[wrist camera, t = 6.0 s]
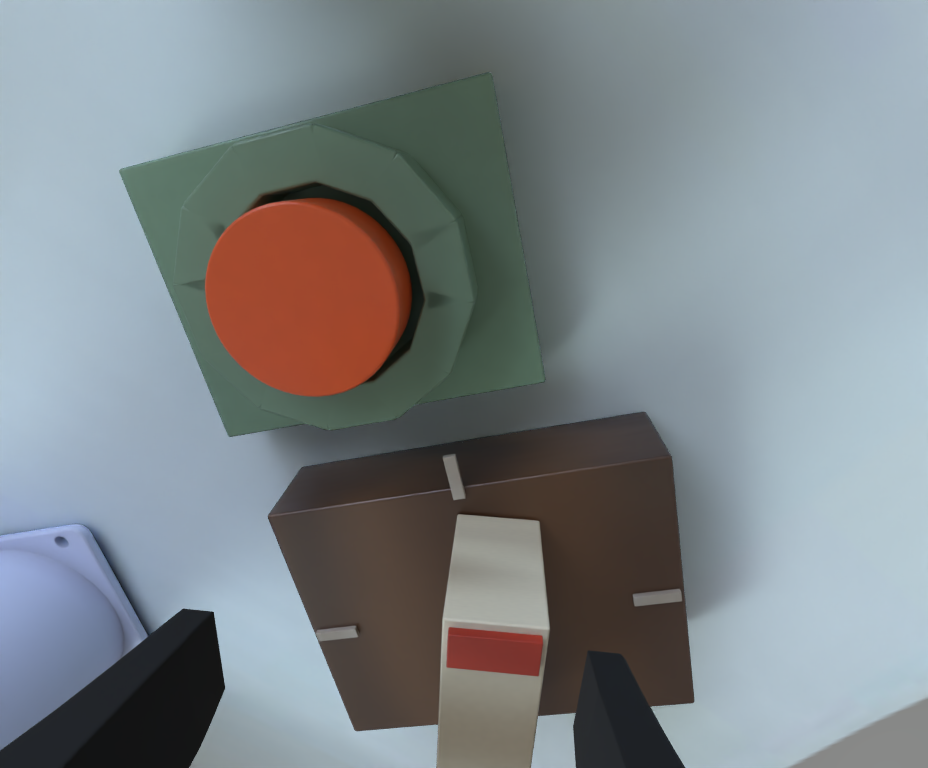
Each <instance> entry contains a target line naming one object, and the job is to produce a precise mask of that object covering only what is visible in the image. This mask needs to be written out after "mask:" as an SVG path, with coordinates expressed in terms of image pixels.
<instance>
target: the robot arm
mask: <svg viewBox="0 0 928 768" xmlns="http://www.w3.org/2000/svg"><path fill="white" fill-rule="evenodd" d="M224 690H225V684H224V677H223V671H222V664H221V658H220V651H219V644H218V638H217V631H216V625H215V618H214V612H210V611H200V610H190V609H182V610H181V611H180V612H178V613H177V614H176V615H175V616H173V617H172V618H171V619H170V620H168V621H167V622H166V623H164V624H163V625H162V626H161V627H159V628H158V629H157V630H156V631H154V632H153V633H152V634H151V635H149V636H148V635H147V633H146V631H145V629H144V627H143V626H142V624H141V622H140V620H139V618H138V617H137V615H136V613H135V611H134V609H133V608H132V606H131V604H130V602H129V600H128V598H127V597H126V595H125V593H124V591H123V589H122V588H121V586H120V584H119V582H118V580H117V578H116V577H115V575H114V573H113V571H112V569H111V568H110V566H109V564H108V562H107V560H106V558H105V557H104V555H103V553H102V551H101V549H100V548H99V546H98V544H97V542H96V540H95V539H94V537H93V535H92V533H91V532H90V530H89V529H88V528H86V527H85V526H83V525H80V524H71V525H64V526H58V527H51V528H45V529H39V530H32V531H26V532H19V533H13V534H6V535H0V768H189V767H190V765H191V763H192V761H193V759H194V758H195V756H196V754H197V752H198V750H199V748H200V746H201V744H202V742H203V739H204V737H205V735H206V733H207V730H208V728H209V726H210V723H211V721H212V719H213V716H214V714H215V712H216V709H217V707H218V704H219V702H220V699H221V697H222V695H223V692H224ZM573 730H574V745H575V760H576V768H685V767H684V765H683V763H682V762H681V760H680V758H679V757H678V755H677V753H676V752H675V750H674V748H673V747H672V745H671V743H670V741H669V740H668V738H667V736H666V735H665V733H664V731H663V729H662V727H661V726H660V724H659V722H658V720H657V718H656V717H655V715H654V713H653V711H652V709H651V708H650V706H649V704H648V702H647V700H646V698H645V696H644V695H643V693H642V691H641V689H640V687H639V685H638V683H637V681H636V679H635V677H634V675H633V673H632V671H631V669H630V667H629V665H628V663H627V661H626V659H625V658H624V657H623V656H622V655H621V654H619V653H609V652H600V651H590V650H588V652H587V657H586V662H585V667H584V673H583V678H582V683H581V688H580V694H579V699H578V704H577V709H576V715H575V720H574V725H573Z"/></svg>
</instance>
